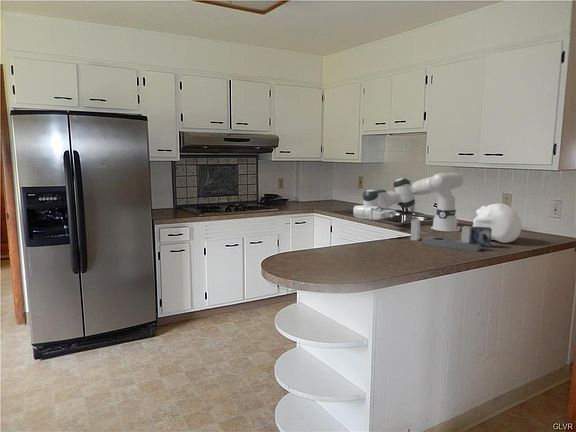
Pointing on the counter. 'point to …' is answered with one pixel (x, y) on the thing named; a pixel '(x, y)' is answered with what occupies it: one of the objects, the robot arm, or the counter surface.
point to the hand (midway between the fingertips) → (396, 215)
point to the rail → (455, 241)
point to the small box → (481, 235)
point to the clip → (415, 229)
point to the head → (499, 222)
